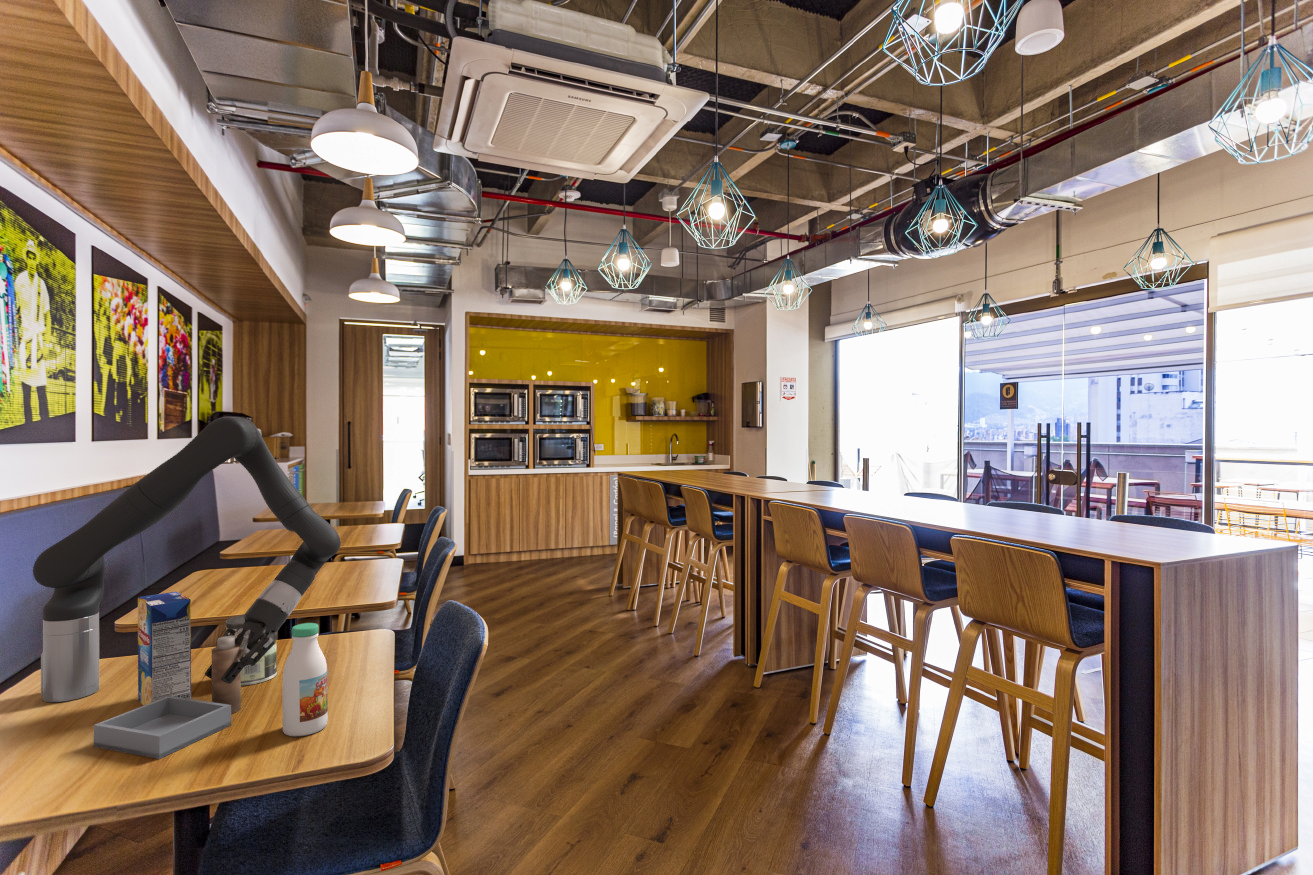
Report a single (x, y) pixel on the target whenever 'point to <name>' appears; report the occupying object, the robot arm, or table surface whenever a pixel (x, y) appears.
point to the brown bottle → (220, 663)
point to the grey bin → (162, 726)
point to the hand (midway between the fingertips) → (217, 678)
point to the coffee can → (264, 666)
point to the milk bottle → (305, 684)
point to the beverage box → (164, 647)
